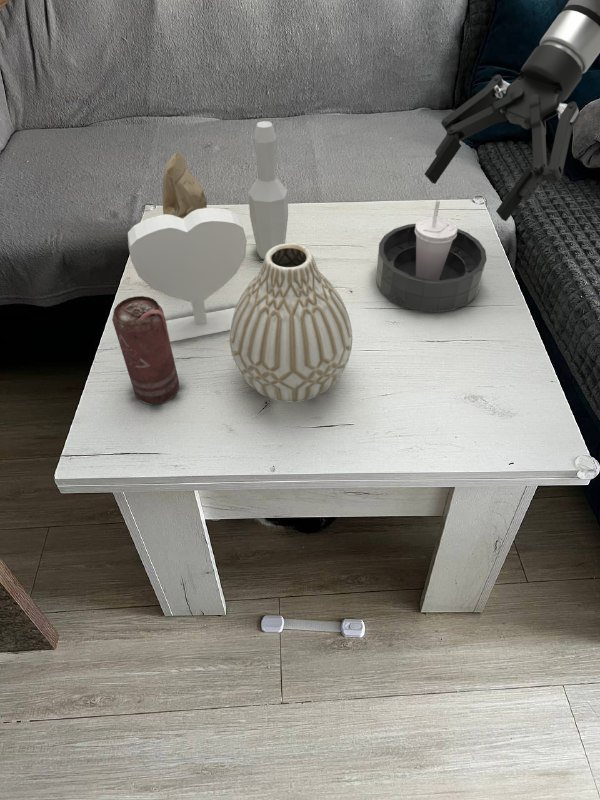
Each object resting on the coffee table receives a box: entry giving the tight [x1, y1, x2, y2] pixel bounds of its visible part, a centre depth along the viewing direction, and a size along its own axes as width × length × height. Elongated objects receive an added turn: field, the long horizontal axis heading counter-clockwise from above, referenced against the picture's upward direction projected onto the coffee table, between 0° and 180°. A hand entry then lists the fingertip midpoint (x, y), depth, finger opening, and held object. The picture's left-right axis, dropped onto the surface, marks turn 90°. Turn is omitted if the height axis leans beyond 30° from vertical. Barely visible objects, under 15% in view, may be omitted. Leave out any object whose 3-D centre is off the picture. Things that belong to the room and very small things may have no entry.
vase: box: [229, 242, 353, 403], centre depth 76 cm, size 16×16×20 cm
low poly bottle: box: [247, 120, 289, 260], centre depth 97 cm, size 6×6×22 cm
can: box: [111, 295, 180, 406], centre depth 77 cm, size 6×6×14 cm
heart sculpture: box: [127, 207, 248, 343], centre depth 85 cm, size 16×5×18 cm, turn 107°
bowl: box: [375, 223, 488, 313], centre depth 96 cm, size 17×17×6 cm
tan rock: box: [162, 152, 208, 219], centre depth 93 cm, size 13×7×20 cm, turn 171°
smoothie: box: [415, 199, 458, 280], centre depth 93 cm, size 6×6×14 cm
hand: (463, 197), depth 87 cm, fingers open, 13 cm apart
